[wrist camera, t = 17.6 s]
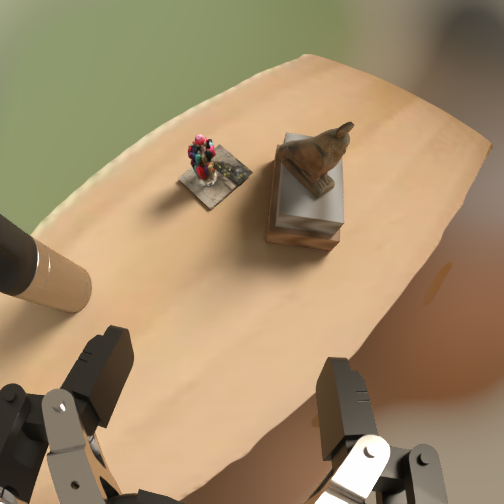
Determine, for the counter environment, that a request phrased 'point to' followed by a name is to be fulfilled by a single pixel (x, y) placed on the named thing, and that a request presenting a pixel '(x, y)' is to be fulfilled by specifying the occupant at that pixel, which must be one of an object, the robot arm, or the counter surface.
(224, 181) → the statue
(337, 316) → the counter surface
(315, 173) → the brown carved statuette
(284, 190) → the grey and brown block
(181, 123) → the counter surface
